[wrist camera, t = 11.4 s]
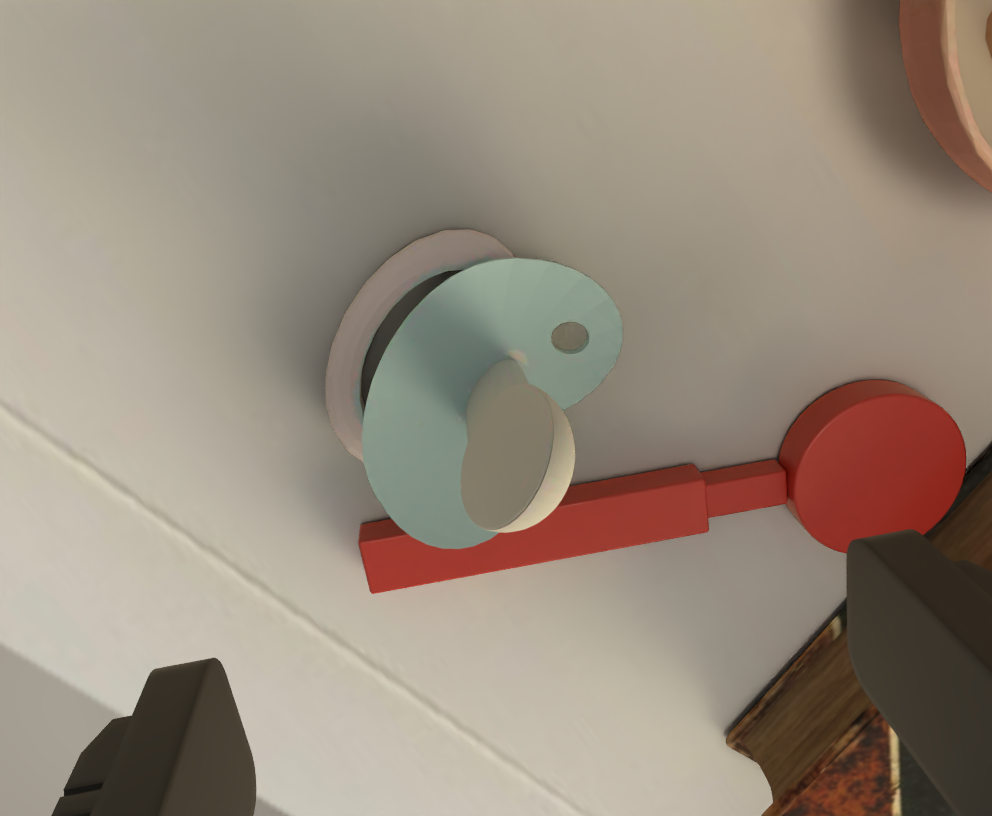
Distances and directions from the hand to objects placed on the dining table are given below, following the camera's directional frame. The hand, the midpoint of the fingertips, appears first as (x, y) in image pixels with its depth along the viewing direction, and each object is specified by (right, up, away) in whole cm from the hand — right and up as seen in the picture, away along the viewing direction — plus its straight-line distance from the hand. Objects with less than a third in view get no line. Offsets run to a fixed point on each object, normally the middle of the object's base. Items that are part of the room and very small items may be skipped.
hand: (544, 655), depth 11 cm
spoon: (+4, +1, +13) cm, 13 cm away
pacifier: (-2, +4, +11) cm, 12 cm away
